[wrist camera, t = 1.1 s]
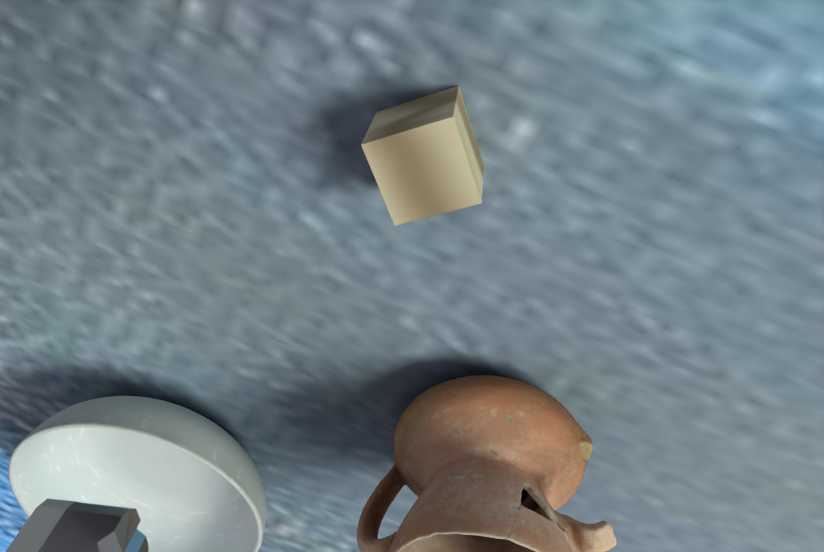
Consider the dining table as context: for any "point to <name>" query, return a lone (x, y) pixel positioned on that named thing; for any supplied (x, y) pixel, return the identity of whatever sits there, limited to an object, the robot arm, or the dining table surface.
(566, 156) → the dining table surface
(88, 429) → the serving bowl
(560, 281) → the dining table surface
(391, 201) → the oak cube
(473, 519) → the ceramic jug
